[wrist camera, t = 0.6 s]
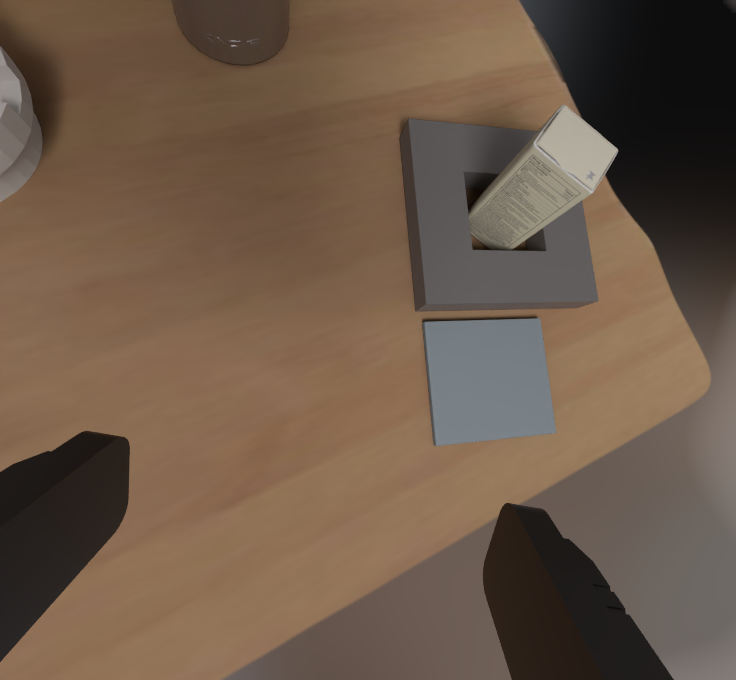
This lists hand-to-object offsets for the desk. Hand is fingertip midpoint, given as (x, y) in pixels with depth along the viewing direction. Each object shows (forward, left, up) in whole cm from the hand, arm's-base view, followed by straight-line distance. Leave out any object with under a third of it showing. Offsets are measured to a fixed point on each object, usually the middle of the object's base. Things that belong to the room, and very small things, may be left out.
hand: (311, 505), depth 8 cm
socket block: (-17, +19, -21) cm, 33 cm away
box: (-17, +19, -21) cm, 33 cm away
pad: (-3, +17, -21) cm, 27 cm away
